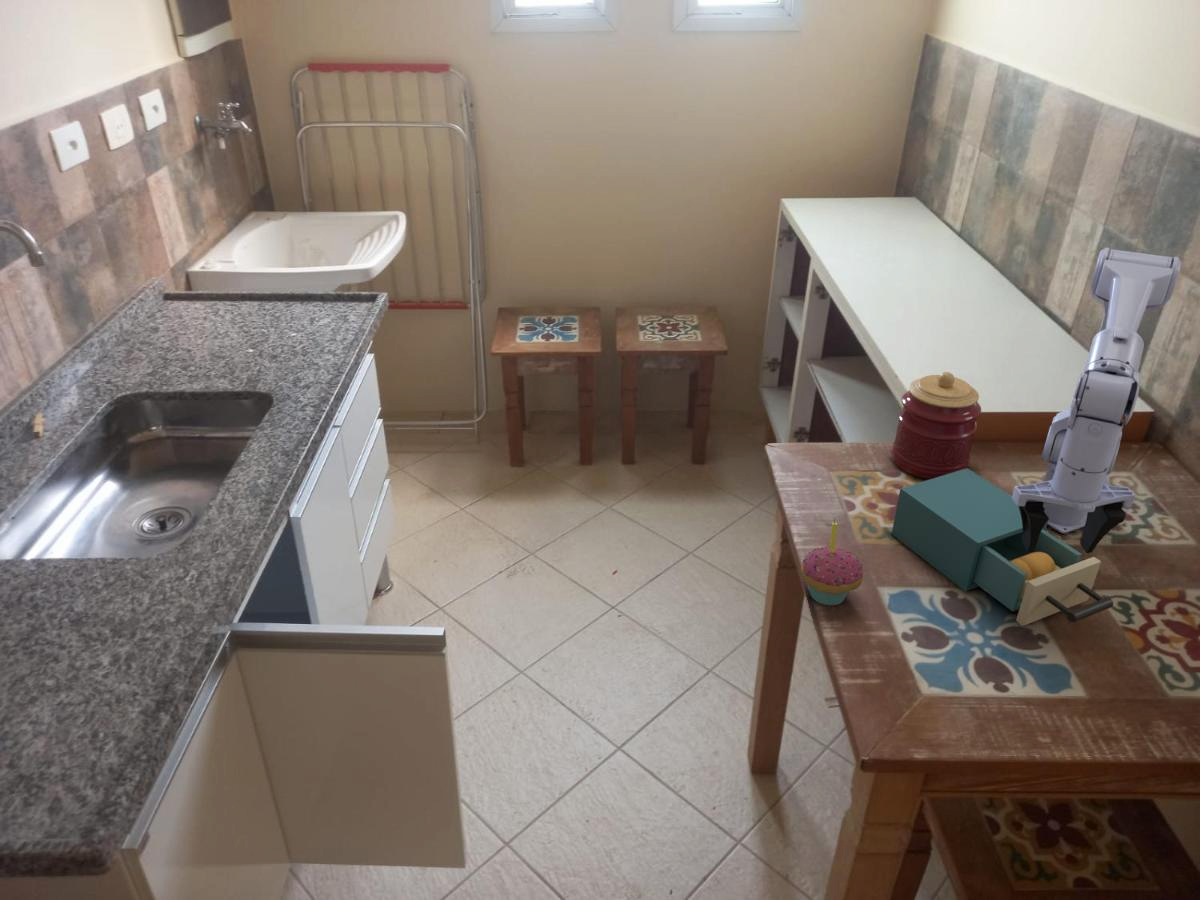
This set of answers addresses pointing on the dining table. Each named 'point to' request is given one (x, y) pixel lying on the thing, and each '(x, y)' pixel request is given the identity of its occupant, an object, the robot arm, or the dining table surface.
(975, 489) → the cabinet
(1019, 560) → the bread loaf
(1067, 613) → the drawer
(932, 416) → the kitchen canister
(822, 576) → the cupcake
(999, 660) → the dining table surface
